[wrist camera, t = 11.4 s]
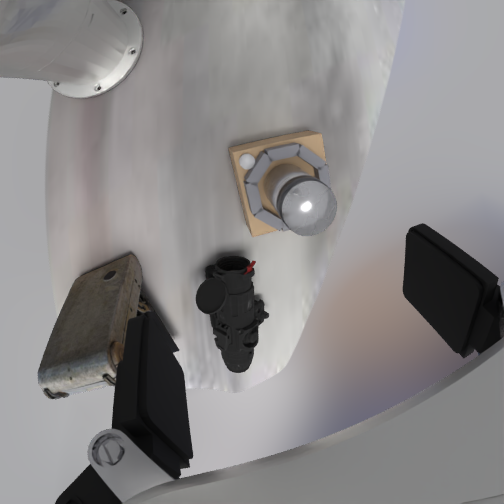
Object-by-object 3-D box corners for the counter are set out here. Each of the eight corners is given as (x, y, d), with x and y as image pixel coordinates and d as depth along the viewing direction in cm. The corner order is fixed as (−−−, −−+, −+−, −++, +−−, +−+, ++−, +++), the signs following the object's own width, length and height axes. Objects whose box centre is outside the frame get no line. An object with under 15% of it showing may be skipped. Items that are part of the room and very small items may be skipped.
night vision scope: (235, 337, 51) (191, 369, 44) (230, 237, 43) (172, 263, 36) (274, 357, 46) (230, 396, 39) (277, 252, 38) (220, 286, 31)
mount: (228, 147, 35) (234, 154, 30) (308, 130, 35) (326, 134, 31) (246, 224, 40) (255, 242, 35) (320, 205, 40) (337, 219, 35)
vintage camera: (129, 348, 46) (122, 459, 28) (75, 273, 38) (30, 386, 21) (182, 330, 46) (193, 445, 29) (133, 247, 38) (108, 364, 21)
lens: (258, 169, 33) (277, 189, 26) (303, 157, 33) (334, 175, 26) (267, 212, 35) (288, 243, 28) (311, 201, 35) (340, 228, 28)
